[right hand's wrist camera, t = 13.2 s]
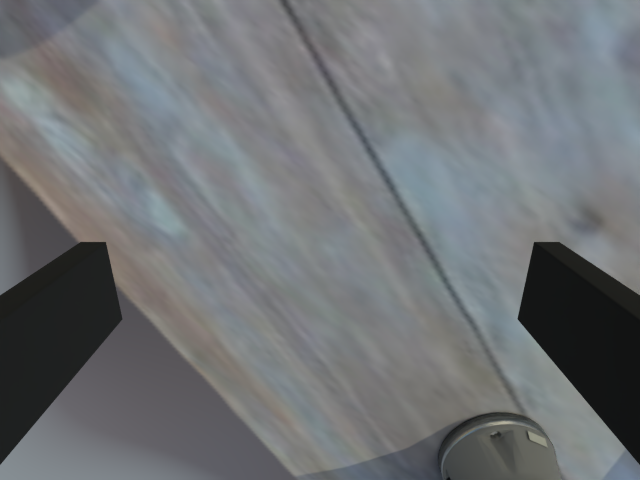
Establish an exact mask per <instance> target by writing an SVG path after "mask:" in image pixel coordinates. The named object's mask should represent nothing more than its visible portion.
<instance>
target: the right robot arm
mask: <svg viewBox="0 0 640 480" xmlns="http://www.w3.org/2000/svg"><path fill="white" fill-rule="evenodd" d="M121 320H122V315H121V311H120V306H119V301H118V297H117V292H116V287H115V283H114V278H113V273H112V269H111V264H110V259H109V255H108V250H107V245H106V242H80V243H79V244H77V245H76V246H74V247H73V248H71V249H70V250H68V251H67V252H65V253H64V254H62V255H61V256H59V257H58V258H56V259H55V260H53V261H52V262H50V263H49V264H47V265H45V266H44V267H43V268H41V269H40V270H38V271H37V272H35V273H33V274H32V275H30V276H29V277H27V278H26V279H24V280H23V281H21V282H20V283H18V284H17V285H15V286H14V287H12V288H11V289H9V290H8V291H6V292H5V293H3V294H2V295H0V464H1V463H2V462H3V461H4V460H5V458H6V457H7V456H8V455H9V454H10V452H11V451H12V450H13V449H14V448H15V446H16V445H17V444H18V443H19V442H20V440H21V439H22V438H23V437H24V436H25V435H26V433H27V432H28V431H29V430H30V428H31V427H32V426H33V425H34V424H35V423H36V421H37V420H38V419H39V418H40V417H41V415H42V414H43V413H44V412H45V411H46V409H47V408H48V407H49V406H50V405H51V403H52V402H53V401H54V400H55V399H56V398H57V396H58V395H59V394H60V393H61V392H62V390H63V389H64V388H65V387H66V386H67V385H68V383H69V382H70V381H71V380H72V379H73V377H74V376H75V375H76V374H77V373H78V371H79V370H80V369H81V368H82V367H83V365H84V364H85V363H86V362H87V361H88V359H89V358H90V357H91V356H92V355H93V353H94V352H95V351H96V350H97V349H98V348H99V346H100V345H101V344H102V343H103V342H104V340H105V339H106V338H107V337H108V336H109V334H110V333H111V332H112V331H113V330H114V328H115V327H116V326H117V325H118V324H119V323H120V321H121ZM518 320H519V321H520V323H521V324H522V325H523V326H524V327H525V329H526V330H527V331H528V332H529V333H530V334H531V336H532V337H533V338H534V339H535V340H536V342H537V343H538V344H539V345H540V346H541V348H542V349H543V350H544V351H545V352H546V354H547V355H548V356H549V357H550V358H551V359H552V361H553V362H554V363H555V364H556V365H557V367H558V368H559V369H560V370H561V371H562V373H563V374H564V375H565V376H566V377H567V379H568V380H569V381H570V382H571V383H572V385H573V386H574V387H575V388H576V389H577V390H578V392H579V393H580V394H581V395H582V396H583V398H584V399H585V400H586V401H587V402H588V404H589V405H590V406H591V407H592V408H593V410H594V411H595V412H596V413H597V414H598V415H599V417H600V418H601V419H602V420H603V421H604V423H605V424H606V425H607V426H608V427H609V429H610V430H611V431H612V432H613V433H614V435H615V436H616V437H617V438H618V439H619V441H620V442H621V443H622V444H623V445H624V446H625V448H626V449H627V450H628V451H629V452H630V454H631V455H632V456H633V457H634V458H635V460H636V461H637V462H638V463H639V464H640V295H638V294H637V293H635V292H634V291H632V290H631V289H629V288H628V287H626V286H625V285H623V284H622V283H620V282H619V281H617V280H616V279H614V278H613V277H611V276H610V275H608V274H607V273H605V272H604V271H602V270H601V269H599V268H598V267H596V266H595V265H593V264H592V263H590V262H588V261H587V260H585V259H584V258H582V257H581V256H579V255H578V254H576V253H575V252H573V251H572V250H570V249H569V248H567V247H566V246H564V245H563V244H561V243H560V242H534V245H533V250H532V255H531V259H530V264H529V269H528V273H527V278H526V283H525V287H524V292H523V297H522V301H521V306H520V311H519V315H518ZM438 463H439V467H440V471H441V474H442V477H443V480H562V478H561V474H560V470H559V466H558V463H557V460H556V453H555V449H554V447H553V444H552V443H551V441H550V440H549V438H548V437H547V435H546V433H545V432H544V430H543V429H542V428H541V427H540V426H539V425H538V424H537V423H535V422H534V421H532V420H531V419H529V418H526V417H524V416H521V415H517V414H511V413H494V414H487V415H483V416H479V417H476V418H474V419H471V420H469V421H467V422H465V423H463V424H461V425H460V426H458V427H457V428H456V429H455V430H453V431H452V432H451V433H450V434H449V435H448V436H447V438H446V439H445V440H444V442H443V444H442V446H441V448H440V451H439V456H438Z"/></svg>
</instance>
